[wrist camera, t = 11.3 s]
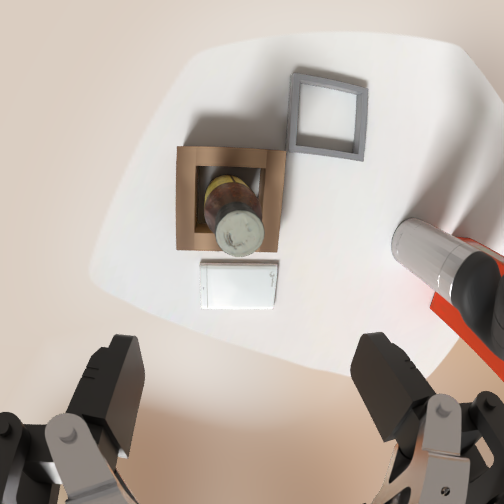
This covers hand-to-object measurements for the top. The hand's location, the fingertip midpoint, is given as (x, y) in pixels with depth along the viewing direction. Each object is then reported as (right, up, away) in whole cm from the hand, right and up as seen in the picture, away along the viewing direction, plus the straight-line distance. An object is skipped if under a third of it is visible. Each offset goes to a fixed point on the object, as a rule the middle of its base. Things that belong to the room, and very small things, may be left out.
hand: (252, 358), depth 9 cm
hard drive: (-2, -2, +38) cm, 38 cm away
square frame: (+11, +24, +29) cm, 39 cm away
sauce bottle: (-4, +12, +32) cm, 34 cm away
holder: (-4, +12, +32) cm, 34 cm away
